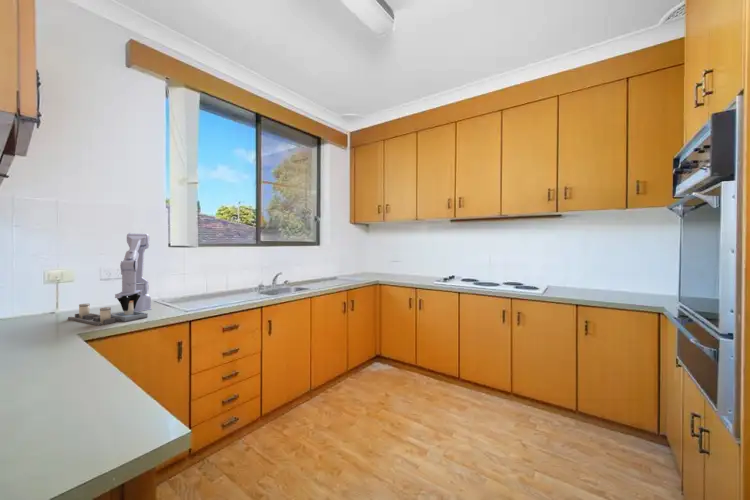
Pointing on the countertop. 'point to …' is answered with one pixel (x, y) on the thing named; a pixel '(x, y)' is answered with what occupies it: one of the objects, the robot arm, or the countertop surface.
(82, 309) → the cream capsule cylinder
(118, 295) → the robot arm
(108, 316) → the fuse
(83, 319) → the clip rail
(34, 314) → the countertop surface
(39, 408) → the countertop surface
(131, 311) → the cylinder
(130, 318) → the tray
